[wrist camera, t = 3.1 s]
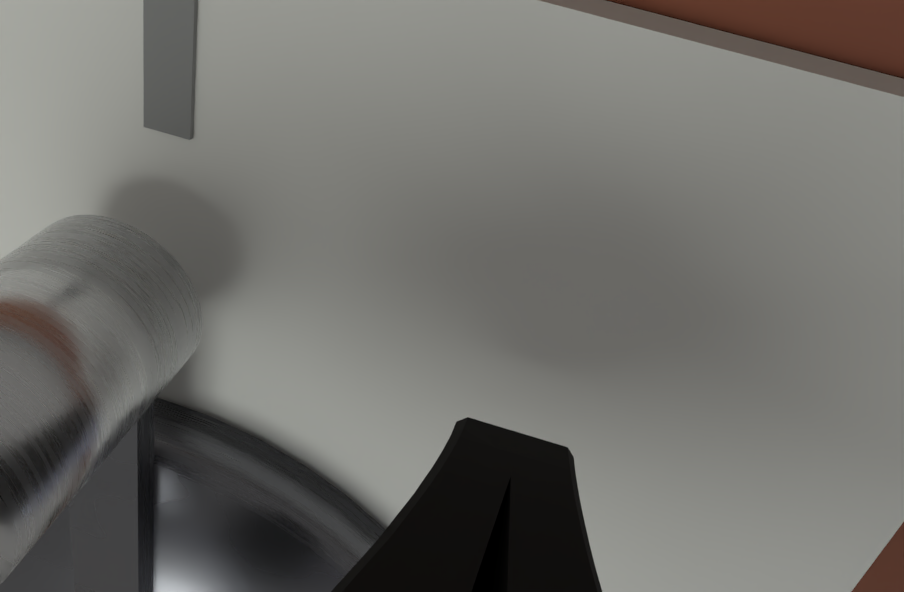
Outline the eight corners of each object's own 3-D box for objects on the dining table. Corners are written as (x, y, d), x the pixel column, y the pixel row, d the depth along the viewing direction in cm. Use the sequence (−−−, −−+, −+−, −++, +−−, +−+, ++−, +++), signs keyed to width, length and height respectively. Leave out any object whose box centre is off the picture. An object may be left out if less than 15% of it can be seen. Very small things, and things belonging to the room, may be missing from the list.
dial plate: (1125, 137, 10) (1173, 170, 9) (537, 975, 25) (533, 1019, 24) (-707, -346, 12) (-823, -360, 11) (-227, 713, 27) (-258, 745, 26)
